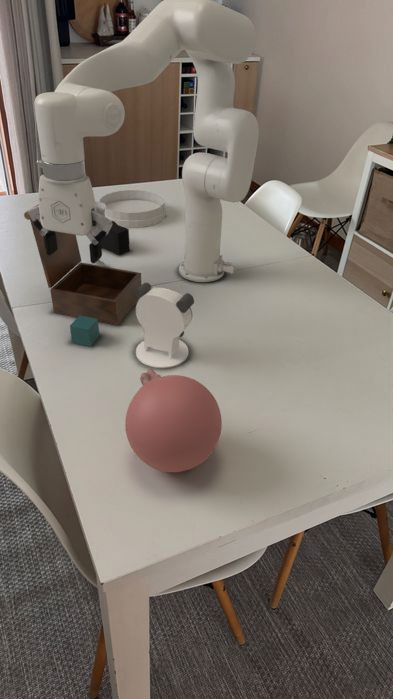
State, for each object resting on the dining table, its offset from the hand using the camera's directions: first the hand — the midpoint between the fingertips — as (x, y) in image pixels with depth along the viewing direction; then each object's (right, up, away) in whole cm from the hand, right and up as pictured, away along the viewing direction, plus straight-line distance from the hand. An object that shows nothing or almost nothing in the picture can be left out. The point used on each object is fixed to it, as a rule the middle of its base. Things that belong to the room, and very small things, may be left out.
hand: (74, 256), depth 101 cm
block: (0, -16, +11) cm, 20 cm away
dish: (+3, +27, +72) cm, 77 cm away
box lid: (-8, +7, +17) cm, 20 cm away
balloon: (+20, -36, -14) cm, 43 cm away
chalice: (-3, +3, +38) cm, 39 cm away
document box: (0, -7, +24) cm, 25 cm away
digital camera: (0, +12, +50) cm, 52 cm away
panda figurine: (+17, -19, +8) cm, 27 cm away
